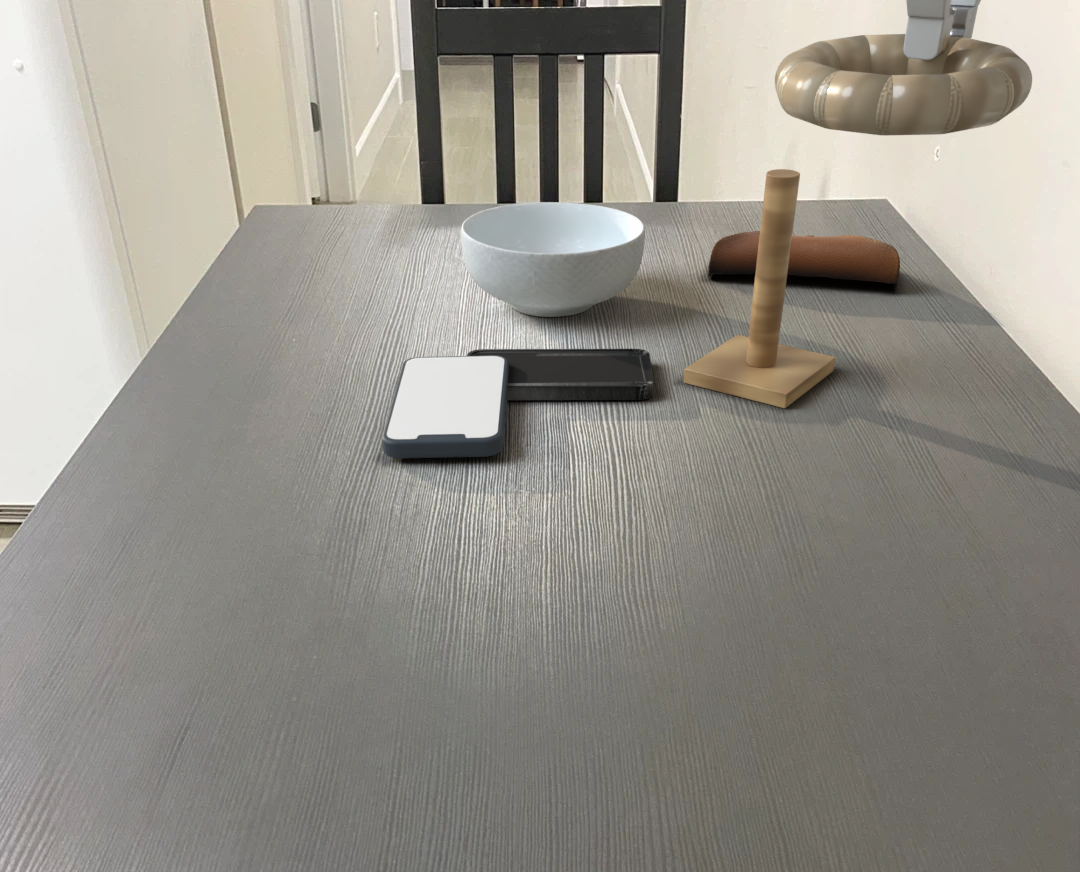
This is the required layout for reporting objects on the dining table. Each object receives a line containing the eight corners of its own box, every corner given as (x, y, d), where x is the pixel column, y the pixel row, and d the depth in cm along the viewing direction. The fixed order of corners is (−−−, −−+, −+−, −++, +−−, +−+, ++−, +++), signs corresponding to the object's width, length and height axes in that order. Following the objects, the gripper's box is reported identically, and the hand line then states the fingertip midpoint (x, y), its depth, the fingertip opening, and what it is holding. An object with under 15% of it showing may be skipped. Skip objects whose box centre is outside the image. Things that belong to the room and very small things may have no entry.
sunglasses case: (897, 262, 109) (909, 209, 103) (890, 319, 107) (902, 269, 100) (717, 251, 112) (718, 200, 106) (706, 306, 110) (706, 257, 104)
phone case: (404, 375, 90) (380, 463, 77) (402, 356, 89) (377, 442, 76) (511, 372, 89) (504, 461, 77) (510, 353, 88) (503, 439, 76)
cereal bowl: (633, 340, 95) (636, 255, 90) (447, 331, 97) (441, 248, 93) (648, 277, 108) (652, 201, 103) (484, 271, 110) (481, 196, 106)
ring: (1052, 95, 55) (1065, 40, 53) (973, 153, 48) (986, 91, 46) (832, 74, 60) (838, 23, 59) (732, 123, 53) (736, 67, 51)
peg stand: (833, 371, 89) (867, 168, 80) (785, 409, 84) (814, 196, 74) (735, 348, 93) (755, 152, 84) (683, 382, 88) (698, 177, 78)
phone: (654, 386, 84) (460, 386, 85) (653, 400, 85) (461, 400, 85) (648, 348, 90) (468, 348, 91) (648, 361, 91) (469, 361, 91)
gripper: (1004, -347, 39) (924, 93, 48) (1137, -314, 52) (1055, 28, 60) (837, -332, 42) (792, 80, 51) (1003, -304, 54) (943, 21, 63)
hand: (936, 52), depth 56 cm, fingers closed on ring, 2 cm apart
